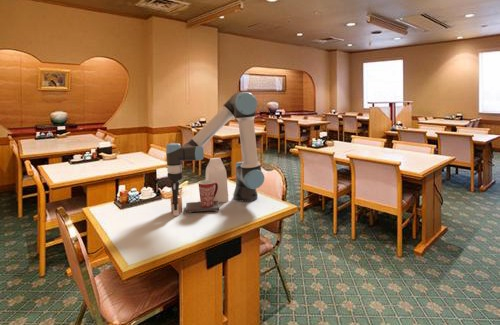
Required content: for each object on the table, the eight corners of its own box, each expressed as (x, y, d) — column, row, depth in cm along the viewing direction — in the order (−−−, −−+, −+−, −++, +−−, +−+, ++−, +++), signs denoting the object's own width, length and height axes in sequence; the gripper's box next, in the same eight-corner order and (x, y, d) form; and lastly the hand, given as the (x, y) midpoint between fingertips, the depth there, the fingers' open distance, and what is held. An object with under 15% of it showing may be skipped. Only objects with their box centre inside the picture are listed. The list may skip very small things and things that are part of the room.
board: (217, 204, 190) (217, 200, 190) (219, 211, 179) (219, 207, 178) (186, 206, 187) (186, 202, 187) (186, 213, 176) (185, 209, 175)
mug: (206, 208, 176) (205, 185, 173) (195, 205, 182) (194, 182, 180) (223, 203, 185) (222, 180, 182) (213, 199, 191) (212, 177, 189)
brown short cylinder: (182, 210, 181) (181, 195, 179) (182, 214, 175) (181, 198, 174) (171, 211, 180) (170, 195, 178) (171, 215, 174) (170, 199, 173)
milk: (223, 195, 207) (222, 155, 202) (228, 201, 196) (227, 159, 191) (205, 197, 203) (203, 157, 198) (208, 203, 193) (207, 160, 187)
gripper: (168, 168, 183) (170, 206, 187) (165, 177, 162) (168, 219, 167) (182, 167, 184) (184, 205, 189) (180, 176, 163) (182, 219, 168)
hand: (176, 212), depth 178 cm, fingers open, 9 cm apart
